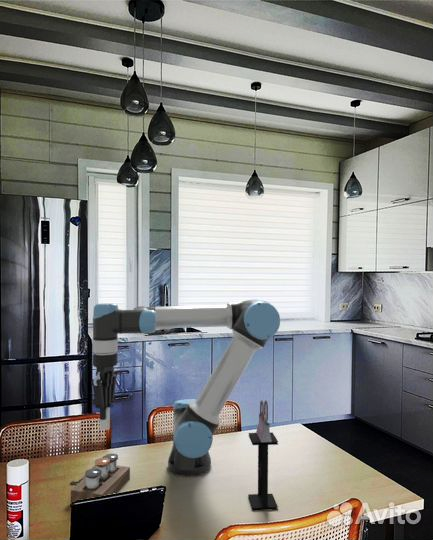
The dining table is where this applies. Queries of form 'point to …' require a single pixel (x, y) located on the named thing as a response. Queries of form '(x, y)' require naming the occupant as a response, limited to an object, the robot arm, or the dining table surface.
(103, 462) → the plunger mid
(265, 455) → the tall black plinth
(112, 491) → the block
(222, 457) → the dining table surface
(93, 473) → the plunger left
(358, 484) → the dining table surface
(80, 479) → the tactical tomahawk
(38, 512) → the dining table surface
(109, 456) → the plunger right
